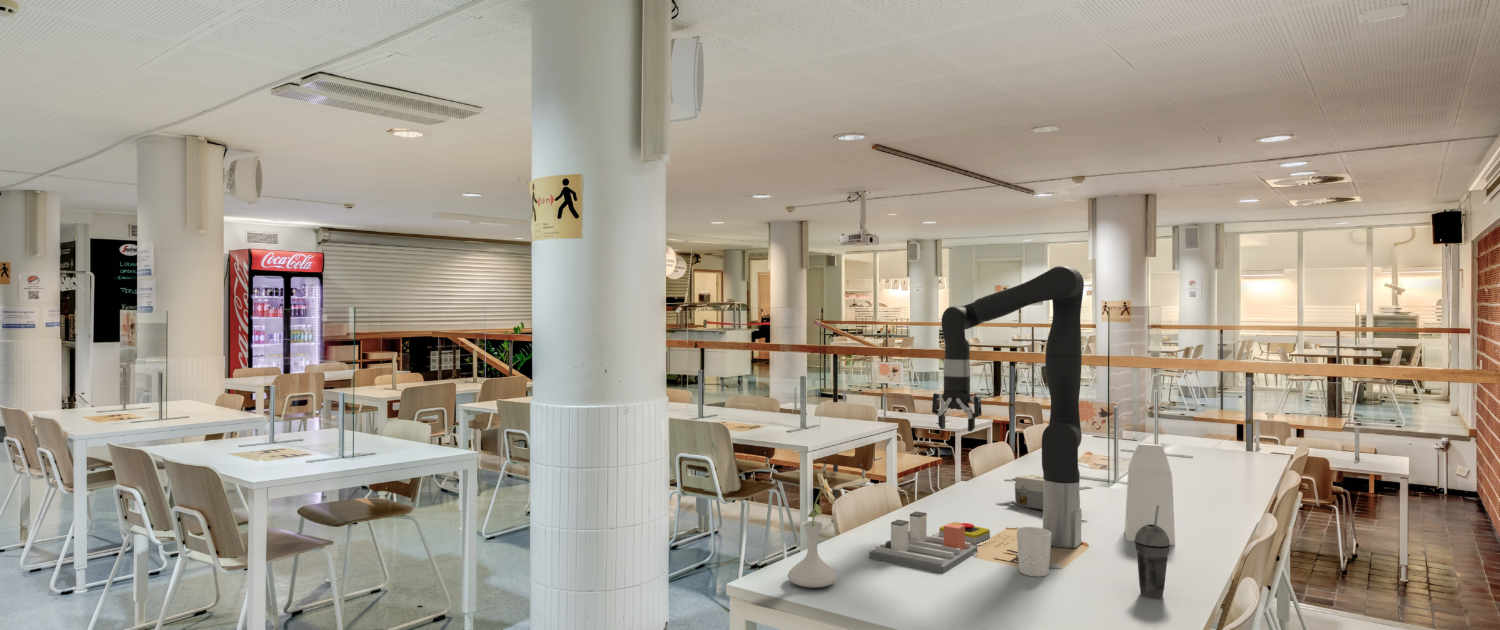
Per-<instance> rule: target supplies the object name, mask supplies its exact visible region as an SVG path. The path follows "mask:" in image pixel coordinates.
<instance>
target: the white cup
mask: <svg viewBox="0 0 1500 630" xmlns="http://www.w3.org/2000/svg"><path fill="white" fill-rule="evenodd" d="M1016 541H1017V543H1016V546H1017V560H1018V571H1019V572H1020V574H1023V575H1025V576H1029V577H1036V578H1037V577H1038V578H1039V577H1040V578H1041V577H1046V576H1048V575H1049V573H1050V562H1051V561H1050V560H1051V557H1050V556H1051V549H1052V548H1051V547H1052V546H1051V532H1050V531H1049V530H1046V529H1043V527H1034V526H1023V527H1018V528H1017V529H1016Z"/></svg>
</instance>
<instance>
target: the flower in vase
mask: <svg viewBox="0 0 1500 630" xmlns="http://www.w3.org/2000/svg"><path fill="white" fill-rule="evenodd" d="M817 480H818V482H819V485H820V487H821V489H820V491H819V492H818V495H817V497H816V500H815V501H814V505H813V510H811V511H810V513H809V514H808V515H807V517H808V518H812V520H806V521H803V522H802V523H801V525H802V527H803V528H804V530H805V533H806V538H807V552H806V555H805V557H804V558H803V559H801V560H800V561H799V562H797V563H796V564H795V565H794V566H792V567H791V569H790V570H789V571H788V573H787V579H788V580H789V581H790V582H791V583H792V584H795V585H796V586H800V587H802V588H803V587H804V588H812V589H813V588H814V589H815V588H824V587H828V586H831V585H833V584H834V583H836V581H837V580H838V576H837V572H836V571H835V570H834V569H833V568H832V567H831V566H830V565H829V564H827V563H826V562H825V561H824V560H823V559H822V558H821V557H820V555H819V553H818V542H819V535H820V532H821V530H822V528H823V526H824V525H825V524H824V522H821V521H817V520H815V517H817V516H821V515H822V512H823V511H822V509H821V506H820V505H819V504H817V502H818V500H819V498H820V496H821V494H822V493H823V494H824V496H825V498H826V499H827V501H828V503H830V504H831V505H835V504H836V502H835V501H836V498H835V496H834V495H833V489H832V488H831V487H830V485H829V483H828V480H827V478H824V476H823V473H822V472H821V473H819V472H818V473H817Z"/></svg>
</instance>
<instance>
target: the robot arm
mask: <svg viewBox="0 0 1500 630" xmlns="http://www.w3.org/2000/svg"><path fill="white" fill-rule="evenodd" d="M1084 285H1085V282H1084V278H1083V275H1082V274H1081V273H1080V271H1079V270H1078V269H1076V268H1074V267H1071V266H1066V265H1058V266H1054V267H1052V268H1051V269H1049V270H1047V271H1044V272H1043V273H1041V274H1039V275H1038V276H1035V277H1034V278H1032V279H1030V280H1028V281H1025V282H1024V283H1021V284H1020V283H1019V284H1018V285H1016V286H1013V287H1009V288H1007V289H1003V290H1000V291H997V292H993V293H990V294H988V295H984V296H983V297H980V298H977V299H975V301H974V302H971V303H969V304H968V303H967V304H965V305H962V306H961V305H960V306H949V307H948V308H946V309H945V310H944V311H943V313H942V316H941V329H942V335H943V340H944V364H943V370H942V372H943V393H940V392H935V393H933V395H932V405H931V412H932V414H935V415H937V417H938V422H937V423H938V427H939V429H941V430H945V429H946V413H947V412H948V411H949V410H957V411H961V410H962V411H963V413H965V414H966V416H967V417H968V418H967V432H973V431H974V430H975V428H976V425H975V424H976V419H977V418H978V417H981V416H982V413H983V411H982V397H981V395H972V394H971V393H970V392H971V364H970V350H971V349H970V343H969V341H968V340H967V339H966V330H969V329H971V328H974V327H976V326H978V325H980V324H983V323H986V322H990V321H992V320H996V319H999V318H1003V317H1005V316H1007V315H1010V314H1013V313H1014V312H1016V311H1019V310H1021V309H1022V308H1025V307H1027V306H1030V305H1034V304H1037V303H1041V302H1042V303H1043V302H1047V301H1052V319H1051V321H1052V322H1051V326H1050V330H1049V333H1048V336H1047V341H1046V344H1045V345H1046V346H1045V365H1044V367H1045V369H1044V370H1045V377H1046V382H1047V383H1046V384H1047V387H1048V393H1049V396H1050V397H1049V399H1050V413H1049V422H1048V425H1047V426H1046V427H1045V428H1044V430H1043V432H1042V437H1041V468H1042V469H1041V470H1042V473H1043V478H1044V479H1043V510H1042V529H1046V530H1049V531H1050V532H1051V547H1058V548H1067V549H1068V548H1069V549H1070V548H1072V549H1076V548H1078V547H1079V546H1080V545H1081V544H1082V508H1081V507H1080V508H1079V493H1080V491H1079V487H1080V485H1081V484H1080V480H1081V479H1080V474H1081V473H1080V470H1079V447H1080V445H1081V443H1082V439H1083V438H1082V437H1083V435H1082V428H1081V416H1080V407H1079V405H1080V403H1079V401H1080V393H1081V382H1082V381H1081V379H1082V357H1083V356H1082V327H1081V312H1082V304H1083V297H1084V289H1085V286H1084ZM942 400H943V401H944V404H943V405H942V406H940V403H941V401H942ZM970 402H972V404H973V409H972V406H971V404H969V403H970ZM940 407H941V408H940Z"/></svg>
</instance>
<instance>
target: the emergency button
mask: <svg viewBox="0 0 1500 630" xmlns="http://www.w3.org/2000/svg"><path fill="white" fill-rule="evenodd" d="M952 523H954V524H960V525H965V542H967V543H971V544H973V545H972V546H974V545H977V544H979V543H981V542H984V541H986V540H988V539H990V538H991V530H990V528H987V527H981V526H975V525H974V524H972V523H971V522H970V523H968V522H962V523H961V522H957V521H956V522H952ZM944 526H945V525H942V526H940V527H939V532H936V533H934V534H932V535H931V536H934V537H939V538H944Z"/></svg>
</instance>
